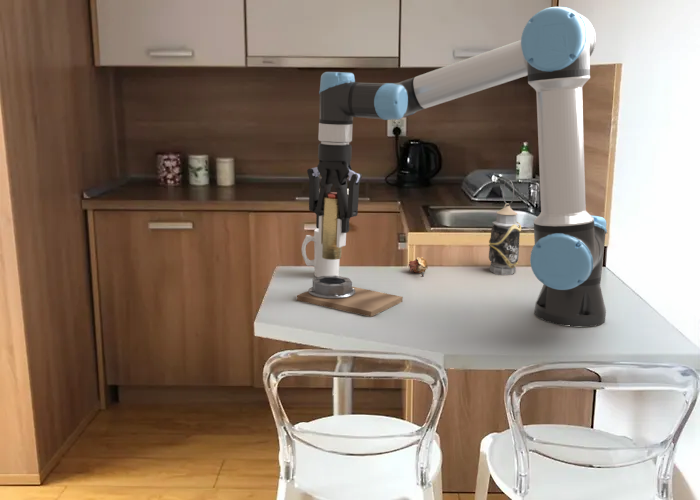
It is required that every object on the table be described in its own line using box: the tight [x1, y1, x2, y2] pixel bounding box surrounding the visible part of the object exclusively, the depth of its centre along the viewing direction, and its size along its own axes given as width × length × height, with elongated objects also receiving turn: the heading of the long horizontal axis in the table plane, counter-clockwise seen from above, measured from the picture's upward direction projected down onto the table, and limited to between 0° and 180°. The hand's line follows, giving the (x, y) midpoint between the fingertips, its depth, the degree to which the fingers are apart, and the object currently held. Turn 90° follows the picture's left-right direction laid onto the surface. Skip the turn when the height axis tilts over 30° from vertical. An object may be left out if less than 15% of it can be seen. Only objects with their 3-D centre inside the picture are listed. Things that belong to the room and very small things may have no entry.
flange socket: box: [307, 275, 356, 299], centre depth 180 cm, size 11×11×3 cm
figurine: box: [408, 256, 429, 277], centre depth 203 cm, size 14×5×4 cm, turn 23°
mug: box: [301, 227, 341, 278], centre depth 197 cm, size 10×7×12 cm, turn 104°
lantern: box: [488, 179, 522, 276], centre depth 205 cm, size 9×8×25 cm
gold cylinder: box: [322, 191, 342, 260], centre depth 176 cm, size 4×4×15 cm
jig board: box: [296, 286, 404, 317], centre depth 178 cm, size 20×14×1 cm
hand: (331, 244), depth 177 cm, fingers closed on gold cylinder, 4 cm apart
